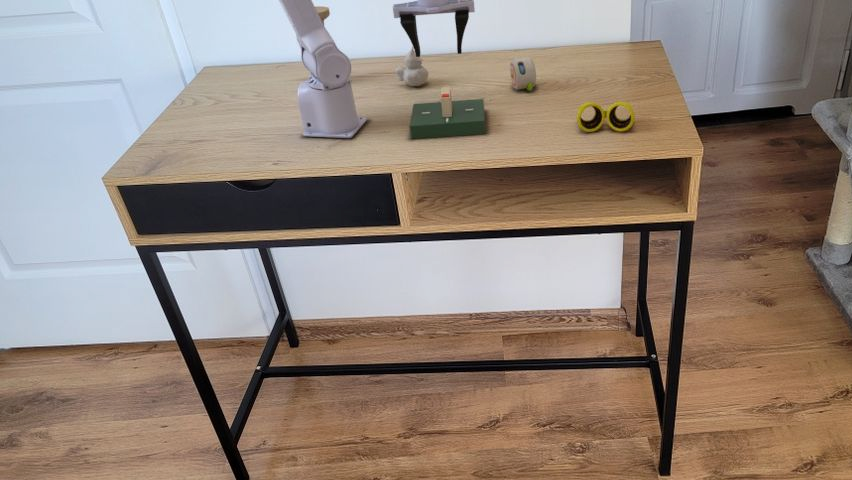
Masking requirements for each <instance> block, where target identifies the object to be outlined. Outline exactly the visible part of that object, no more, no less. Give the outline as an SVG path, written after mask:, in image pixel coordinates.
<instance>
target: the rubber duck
mask: <svg viewBox="0 0 852 480" xmlns="http://www.w3.org/2000/svg"><path fill="white" fill-rule="evenodd" d="M423 61H424V60H423V59H422V58H421V56H420V57H416V53H415V50H414V47H413V46H412V47H411V49H410V50H409V52H408V53H407V54H406V55H405V57H404V60H403V64H404V66H405V67H403V66H398V67H396V68H395V69H394V72H395V75H396V80H397V81H399V82H405V83H406V84H407V85H408V86H410V87H420V86H422V85H424V84H425V83H426V82H427V80H428V78H429V71H428V69H427V68H425V66H423V65H422V64H423Z"/></svg>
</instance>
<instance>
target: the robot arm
mask: <svg viewBox="0 0 852 480" xmlns="http://www.w3.org/2000/svg"><path fill="white" fill-rule="evenodd" d="M278 2H279V4H280V5H281V8H282V9H283V11H284V13H285V16H286V18H287V20H288V21H289V23H290V25H291V27H292V29H293V31H294V33H295V36H296V37H295V38H296V41H297V43H298V46H299V47H300V58H301V59H300V60H301V62H302V65H303V66H304V67H305V68H306V70H308V71H309V72H310V74H309V77H308V80H304V81H302V82H301V83H300V84H299V86H298V88H297V97H296V98H297V105H298V110H299V114H300V118H301V119H300V120H301V123H302V127H303V131H304V132H303V133H302V136H303V137H316V138H338V139H343V138H344V139H351V138H353V137H354V136H355V134H357V132H358V131H359V130H360V129H361V128H362V127H363V126H364V124H365V123H366V122H367V118H366V117H358V114H357V108H356V102H355V97H354V91H353V86H352V80H351V74H352V63H351V60H350V58H349V57H348V56H347V54H346V53H344V52H343V51H341V50H340V48H339V47H338V46H337V44H336V42H335V40H334V38H333V37H332V36H331V34H330V32H329V31H328V30H327V28H326V27H324V26H325V24H324V25H323V23H322V21H321V19H320V17H319V15H318V13H317V10H316V8H315V7H316V5H315V4H314V2H313V1H312V0H278ZM475 10H476V9H475V0H413V1H408V2H404V3H393V5H392V14H393V18H394V19H399V20H400V21H399V23H400V25H401V27H402V29H403V30H404V32H405V33H406V35H407V37H408V38H409V40H410V43H411V45H412V47H413V49H414V51H415V53H416V57H420V58H421V44H420V40H419V36H418V35H419V34H418V26H417V16H427V15H428V16H429V15H437V14H438V15H440V14H453V13H454V22H455V30H456V31H455V32H456V51H457V54H458V55H460V54H463V53H462V51H463V50H462V45H463V38H464V33H465V31H466V27H467V24H468V21H469V19H470V15H469V14H470V13H475Z"/></svg>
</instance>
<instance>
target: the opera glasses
mask: <svg viewBox="0 0 852 480" xmlns="http://www.w3.org/2000/svg"><path fill="white" fill-rule="evenodd" d="M619 106H620V107H623V108H626V109H627V110H628V112H629V113H630V114H629V116H628V117H627V118H626V119H620V118H619V117H618V116H617V113H616V111H617V109H618V108H619ZM589 107H591V108H593V110H594V115H593V117H592V118H591V119H588V120H585V119H583V118H582V114H583V112H584V111H585V110H586V109H587V108H589ZM635 117H636V115H635V111H634V109H633V106H632V105H631V104H630V103H628V102H626V101H617V102H614V103H612V104H611V105H610V106H609V107H608V109H607V110H606V109H603V106H601V105H600V104H599V103H597V102H586V103H583V104H581V105H580V106H579V107H578V109H577V116H576V122H577V125H578V127H579V128H580V129H581V130H582V131H584V132H587V133H593V132H596V131H598V130H599V129H600V128H601V127H602V126H603V125H604V122H605V119H606V122H607V124H608V125H609V127H610V128H611V129H612V130H614V131H616V132H625V131H628V130H630V129H631V128H632V126H633V125H634V122H635Z"/></svg>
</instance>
